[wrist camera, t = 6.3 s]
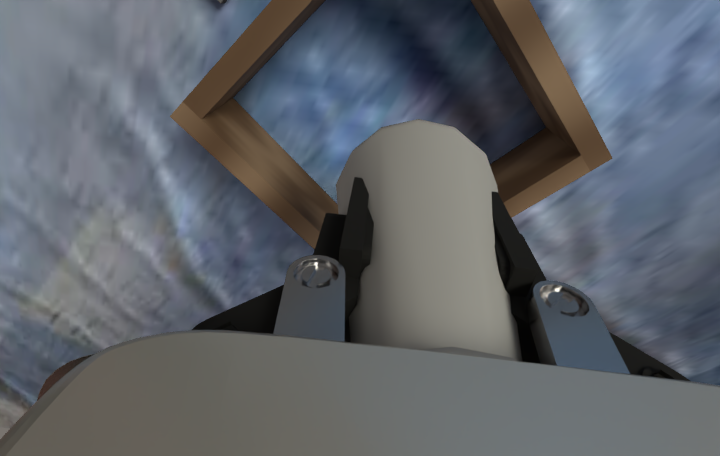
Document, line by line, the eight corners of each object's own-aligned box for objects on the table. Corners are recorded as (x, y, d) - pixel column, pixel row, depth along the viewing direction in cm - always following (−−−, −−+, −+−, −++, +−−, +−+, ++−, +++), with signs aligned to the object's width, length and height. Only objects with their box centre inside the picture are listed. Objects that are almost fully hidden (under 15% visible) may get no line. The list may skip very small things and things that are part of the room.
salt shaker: (435, 248, 18) (506, 669, 7) (324, 201, 17) (193, 599, 6) (511, 141, 15) (875, 591, 4) (381, 76, 14) (333, 415, 3)
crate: (571, 129, 24) (612, 158, 20) (371, 258, 30) (370, 300, 26) (420, -141, 18) (432, -184, 13) (206, 95, 24) (169, 116, 20)
